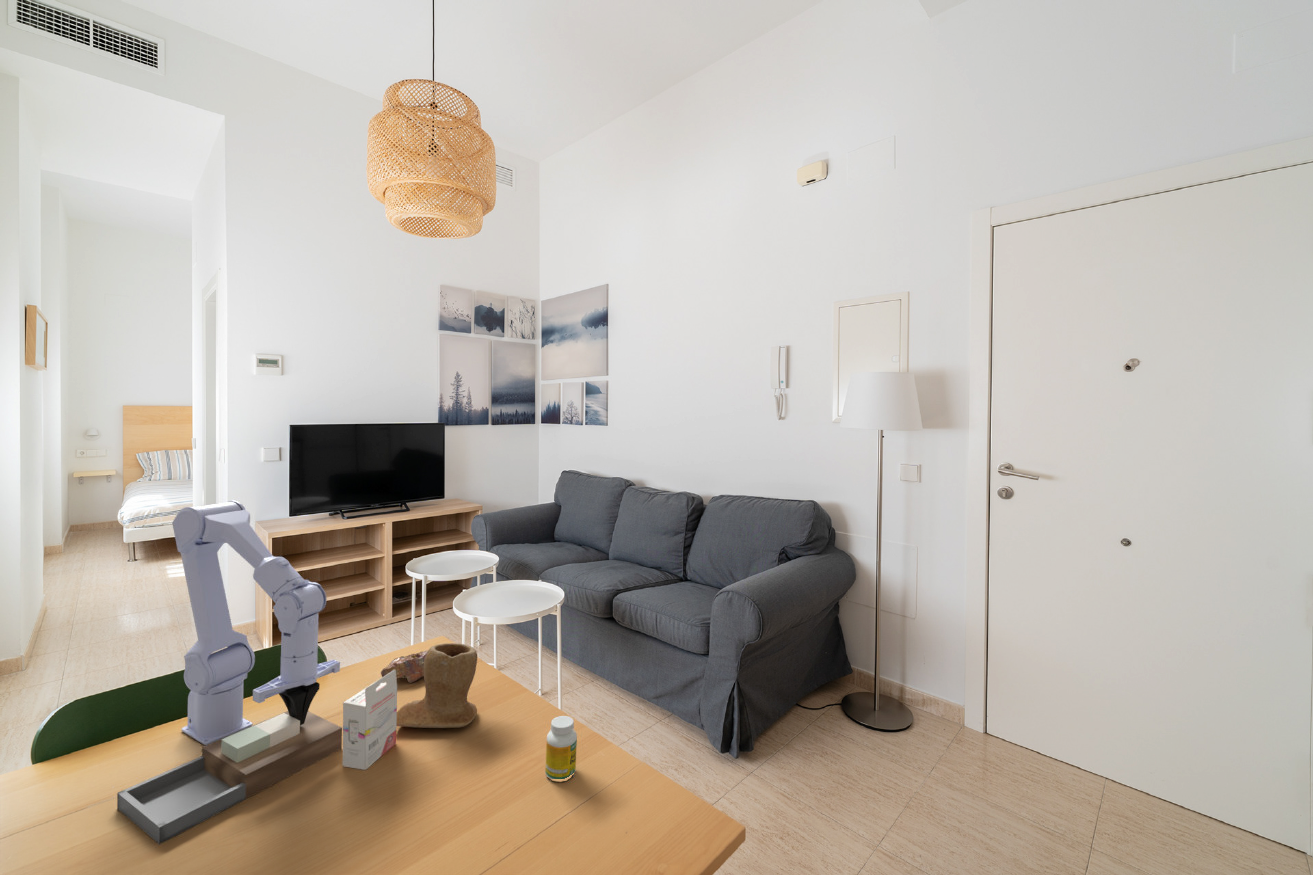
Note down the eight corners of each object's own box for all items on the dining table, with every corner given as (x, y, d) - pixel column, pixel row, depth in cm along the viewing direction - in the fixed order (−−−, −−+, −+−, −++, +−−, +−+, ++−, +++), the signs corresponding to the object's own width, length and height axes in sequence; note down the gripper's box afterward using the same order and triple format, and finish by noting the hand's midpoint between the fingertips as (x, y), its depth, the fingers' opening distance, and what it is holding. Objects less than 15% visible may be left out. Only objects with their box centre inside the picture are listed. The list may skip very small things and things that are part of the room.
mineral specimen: (410, 685, 125) (398, 657, 125) (386, 697, 126) (374, 670, 127) (444, 662, 136) (433, 637, 137) (422, 674, 138) (410, 649, 139)
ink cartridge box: (374, 739, 106) (376, 664, 106) (396, 743, 105) (399, 668, 105) (340, 766, 98) (342, 685, 97) (364, 771, 97) (366, 689, 96)
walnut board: (201, 769, 95) (202, 747, 95) (297, 726, 110) (298, 706, 109) (245, 798, 89) (245, 774, 89) (341, 748, 103) (342, 727, 103)
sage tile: (221, 753, 94) (221, 739, 94) (253, 738, 98) (254, 725, 98) (237, 762, 92) (237, 748, 92) (269, 747, 96) (269, 733, 96)
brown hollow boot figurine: (484, 704, 121) (486, 637, 120) (467, 736, 109) (470, 661, 108) (413, 703, 120) (416, 635, 120) (389, 734, 108) (391, 659, 108)
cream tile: (254, 738, 98) (254, 725, 98) (283, 725, 103) (283, 712, 103) (269, 747, 96) (270, 733, 96) (299, 733, 100) (299, 720, 100)
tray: (117, 808, 86) (117, 792, 86) (201, 769, 95) (202, 755, 95) (159, 844, 79) (159, 827, 79) (245, 798, 89) (245, 783, 89)
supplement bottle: (547, 763, 101) (549, 712, 101) (577, 764, 102) (579, 713, 101) (542, 783, 96) (544, 729, 96) (573, 783, 96) (575, 730, 96)
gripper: (269, 672, 94) (267, 750, 94) (350, 642, 107) (348, 711, 107) (246, 661, 97) (245, 737, 98) (328, 634, 110) (326, 701, 110)
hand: (297, 723), depth 103 cm, fingers closed
